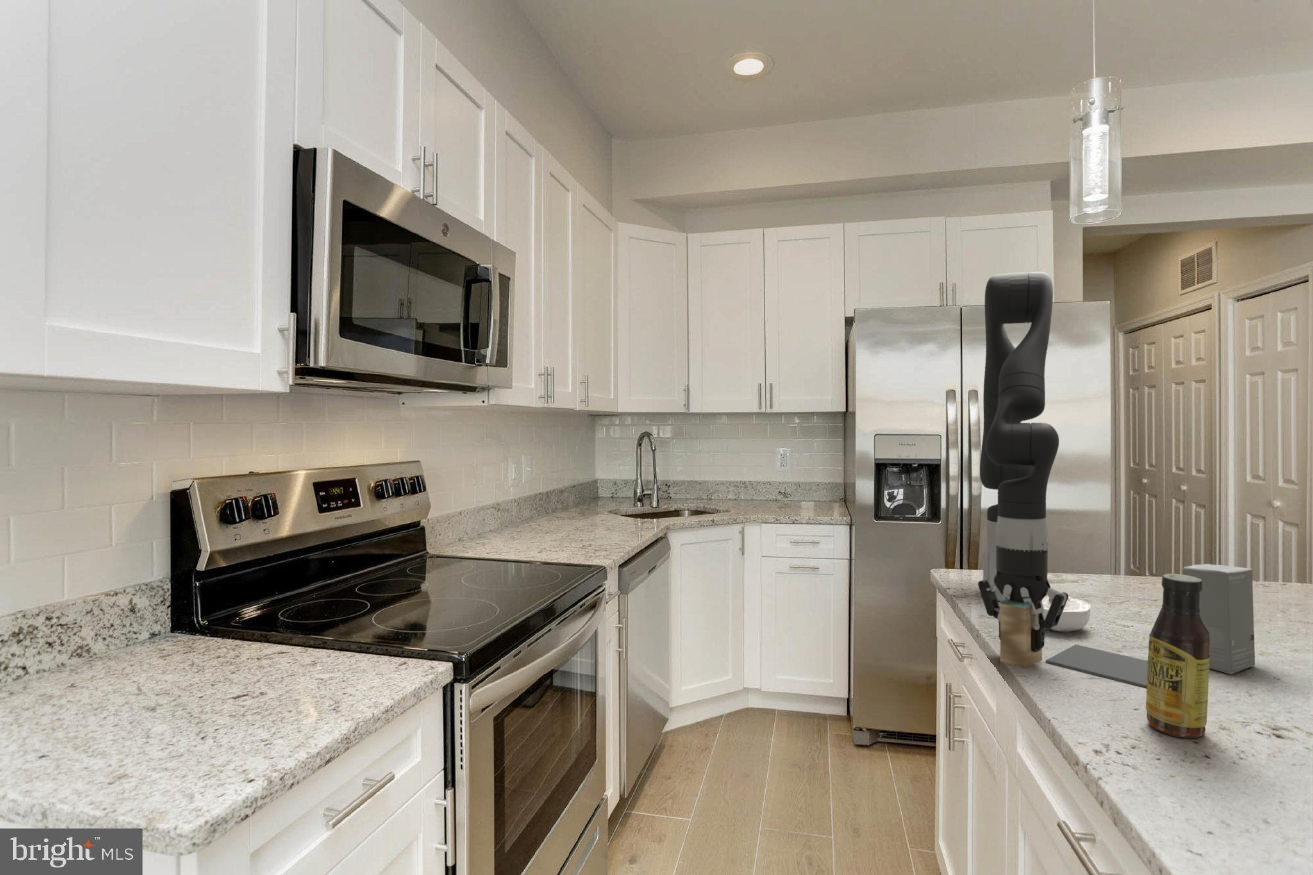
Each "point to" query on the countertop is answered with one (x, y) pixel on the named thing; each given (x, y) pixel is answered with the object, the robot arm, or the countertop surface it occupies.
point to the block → (1016, 635)
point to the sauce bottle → (1178, 661)
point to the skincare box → (1227, 614)
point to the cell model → (1070, 614)
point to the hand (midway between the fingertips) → (1021, 646)
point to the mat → (1103, 664)
